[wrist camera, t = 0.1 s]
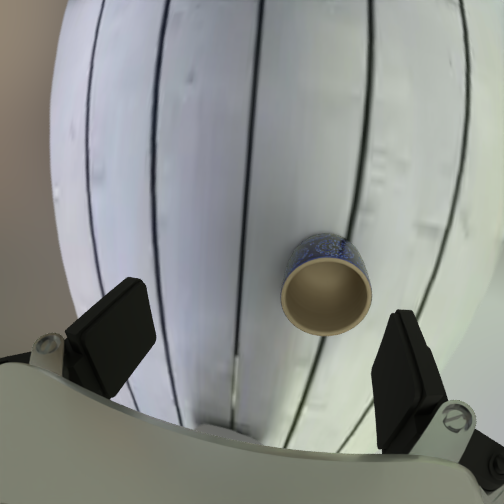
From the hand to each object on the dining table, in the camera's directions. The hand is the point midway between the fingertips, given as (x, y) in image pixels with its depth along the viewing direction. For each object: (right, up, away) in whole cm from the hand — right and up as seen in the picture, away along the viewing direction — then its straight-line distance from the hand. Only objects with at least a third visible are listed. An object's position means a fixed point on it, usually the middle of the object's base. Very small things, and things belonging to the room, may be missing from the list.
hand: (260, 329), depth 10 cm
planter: (+11, +2, +32) cm, 33 cm away
